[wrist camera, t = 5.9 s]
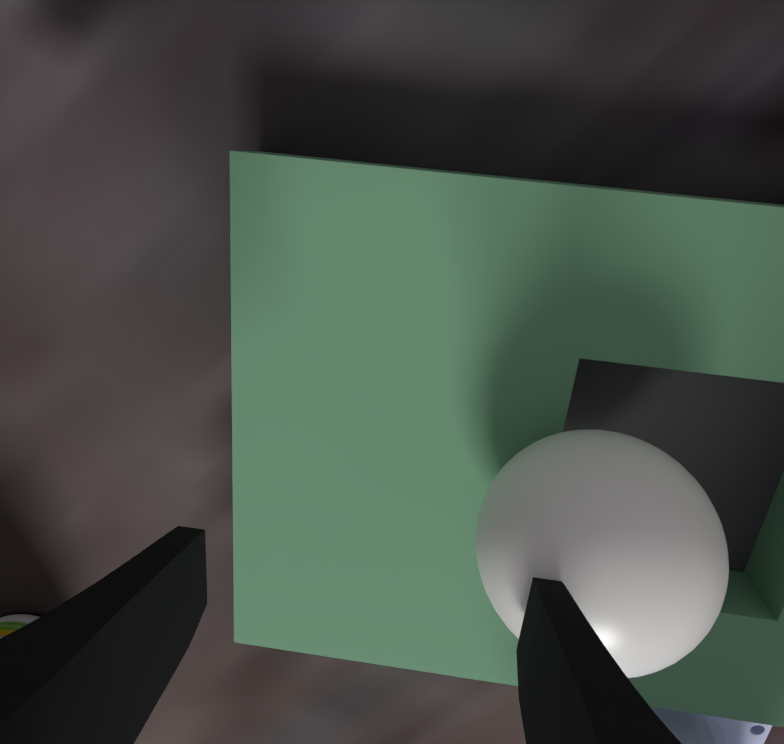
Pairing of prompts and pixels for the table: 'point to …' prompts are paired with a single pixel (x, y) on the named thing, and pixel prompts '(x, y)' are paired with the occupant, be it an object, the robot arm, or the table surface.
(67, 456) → the table surface
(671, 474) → the white ball
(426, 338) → the putting board
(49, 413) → the table surface
